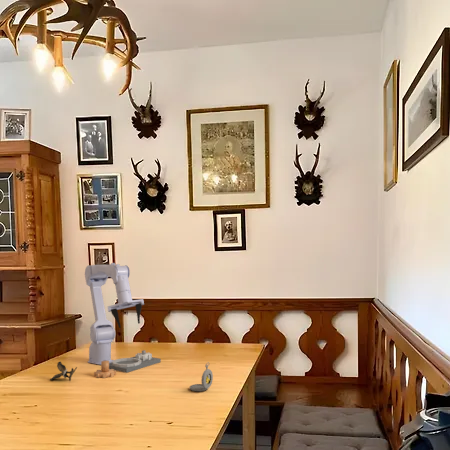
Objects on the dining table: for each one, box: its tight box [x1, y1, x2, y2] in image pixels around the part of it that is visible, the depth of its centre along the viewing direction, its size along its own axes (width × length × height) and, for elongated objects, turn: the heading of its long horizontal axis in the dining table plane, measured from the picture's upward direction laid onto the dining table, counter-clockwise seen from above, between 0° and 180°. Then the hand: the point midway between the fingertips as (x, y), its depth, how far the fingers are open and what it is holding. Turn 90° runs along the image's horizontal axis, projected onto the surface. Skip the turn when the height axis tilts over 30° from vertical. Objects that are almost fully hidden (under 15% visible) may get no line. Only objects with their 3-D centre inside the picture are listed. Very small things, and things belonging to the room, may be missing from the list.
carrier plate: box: [109, 349, 162, 374], centre depth 200 cm, size 13×21×5 cm, turn 147°
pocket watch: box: [189, 362, 214, 392], centre depth 165 cm, size 8×8×10 cm
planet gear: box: [93, 360, 117, 379], centre depth 184 cm, size 8×8×6 cm
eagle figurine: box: [49, 361, 78, 382], centre depth 178 cm, size 8×7×9 cm
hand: (129, 325), depth 185 cm, fingers open, 7 cm apart
